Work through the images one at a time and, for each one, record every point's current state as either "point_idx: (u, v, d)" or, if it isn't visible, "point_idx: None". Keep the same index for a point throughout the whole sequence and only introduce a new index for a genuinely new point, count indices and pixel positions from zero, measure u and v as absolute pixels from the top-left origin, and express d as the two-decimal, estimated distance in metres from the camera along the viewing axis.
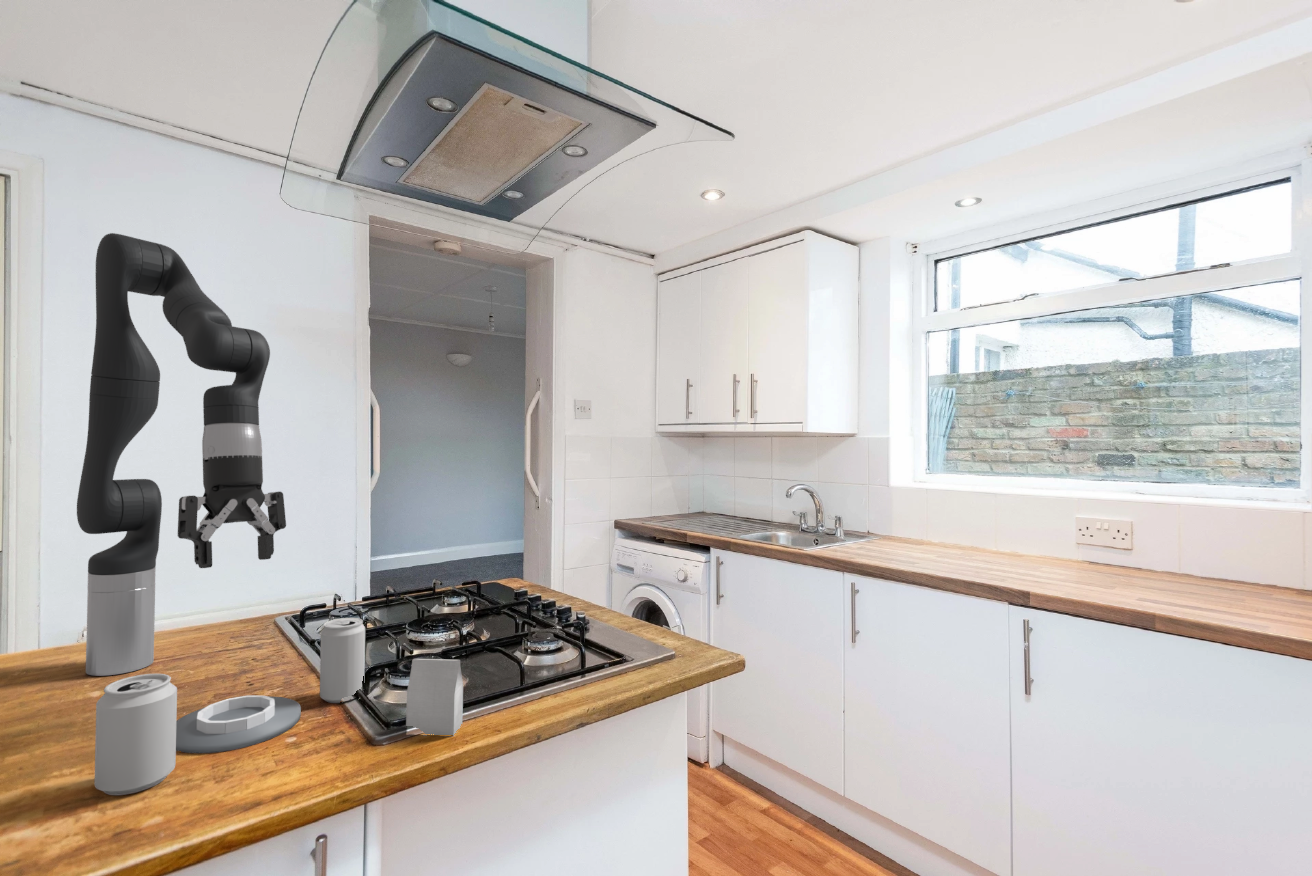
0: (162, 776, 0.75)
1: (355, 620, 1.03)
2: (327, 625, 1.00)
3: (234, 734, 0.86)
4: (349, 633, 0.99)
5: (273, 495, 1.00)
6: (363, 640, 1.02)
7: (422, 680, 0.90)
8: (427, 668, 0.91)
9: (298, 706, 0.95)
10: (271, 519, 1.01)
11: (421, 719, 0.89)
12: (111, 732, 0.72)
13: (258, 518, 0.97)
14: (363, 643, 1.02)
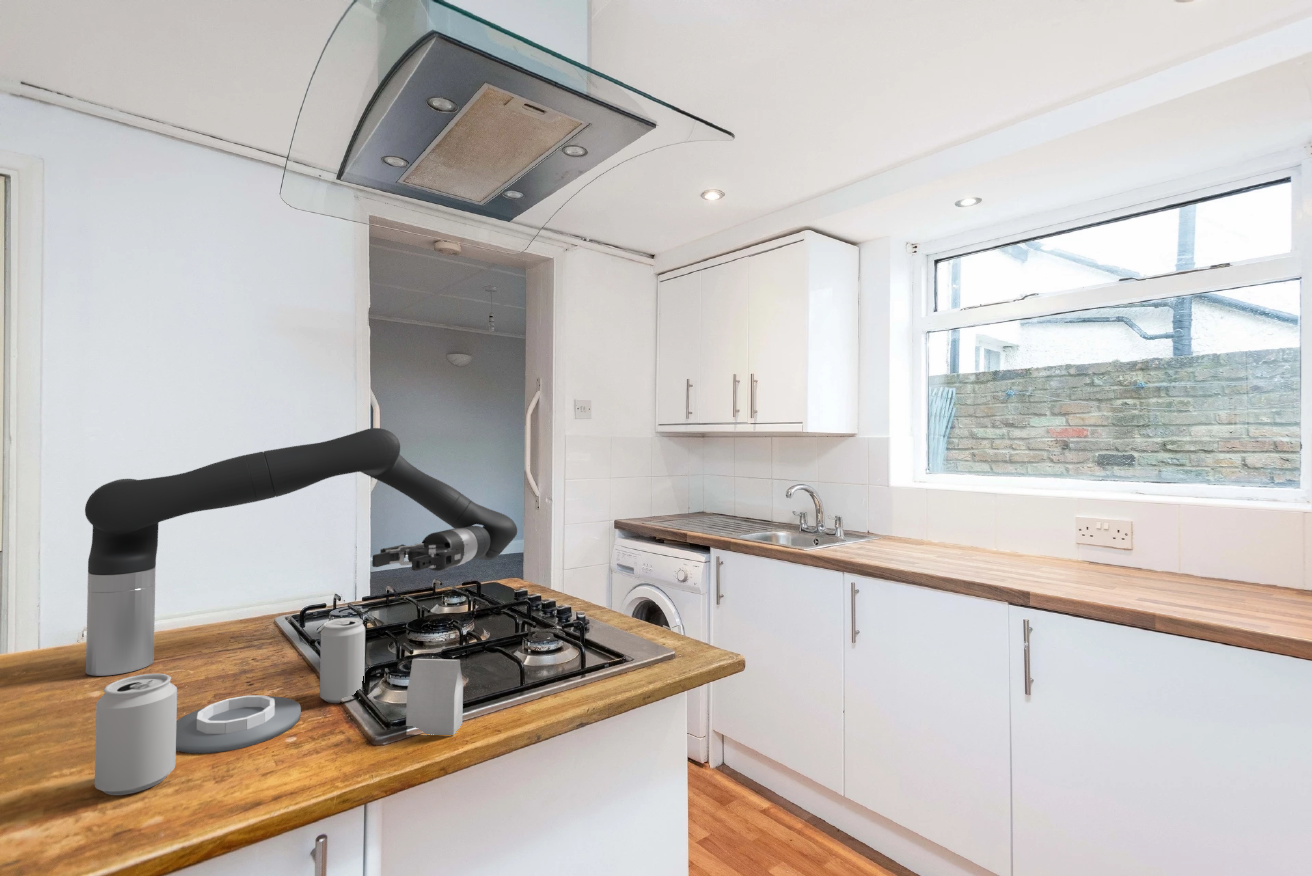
0: (162, 776, 0.75)
1: (355, 620, 1.03)
2: (327, 625, 1.00)
3: (234, 734, 0.86)
4: (349, 633, 0.99)
5: (404, 555, 1.23)
6: (363, 640, 1.02)
7: (422, 680, 0.90)
8: (427, 668, 0.91)
9: (298, 706, 0.95)
10: None
11: (421, 719, 0.89)
12: (111, 731, 0.72)
13: (406, 564, 1.19)
14: (363, 643, 1.02)
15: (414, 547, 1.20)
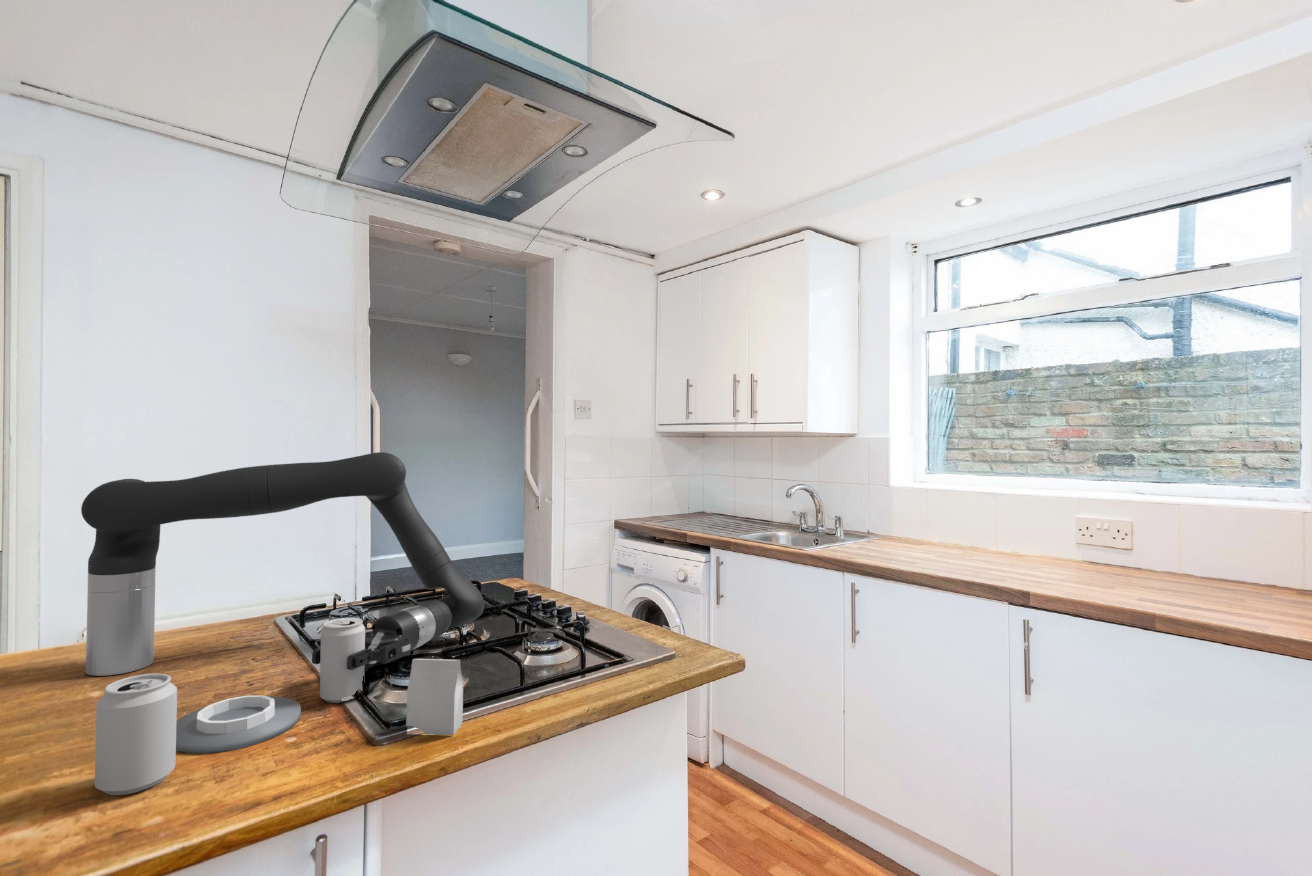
0: (162, 776, 0.75)
1: (355, 620, 1.03)
2: (327, 625, 1.00)
3: (234, 734, 0.86)
4: (349, 633, 0.99)
5: None
6: (363, 640, 1.02)
7: (422, 680, 0.90)
8: (427, 668, 0.91)
9: (298, 706, 0.95)
10: None
11: (421, 719, 0.89)
12: (111, 731, 0.72)
13: None
14: (363, 643, 1.02)
15: None
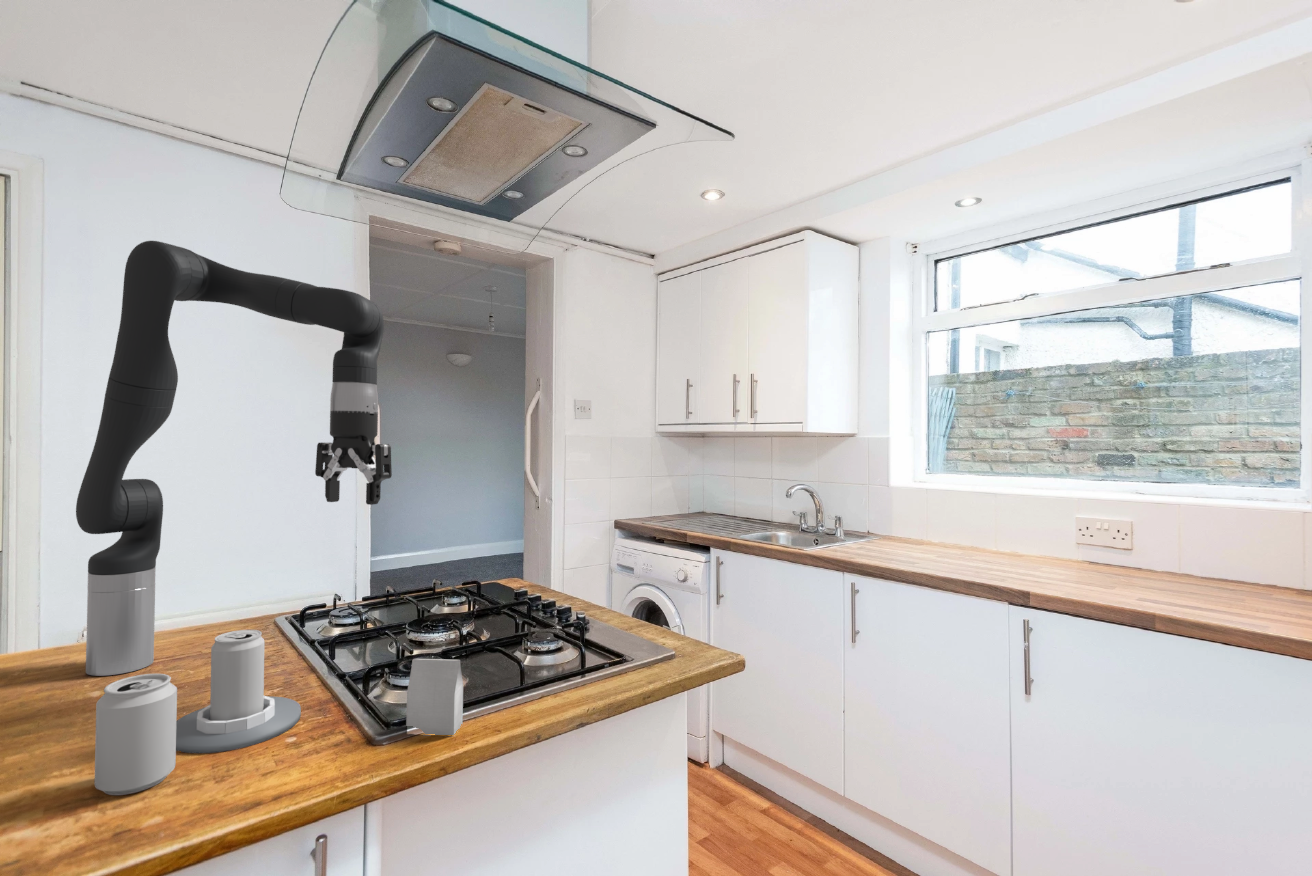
0: (162, 776, 0.75)
1: (253, 633, 0.92)
2: (218, 639, 0.89)
3: (234, 734, 0.86)
4: (242, 648, 0.89)
5: None
6: (261, 655, 0.91)
7: (422, 680, 0.90)
8: (427, 668, 0.91)
9: (298, 706, 0.95)
10: None
11: (421, 718, 0.89)
12: (111, 732, 0.72)
13: None
14: (261, 659, 0.91)
15: (339, 459, 1.10)
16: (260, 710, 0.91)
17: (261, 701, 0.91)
